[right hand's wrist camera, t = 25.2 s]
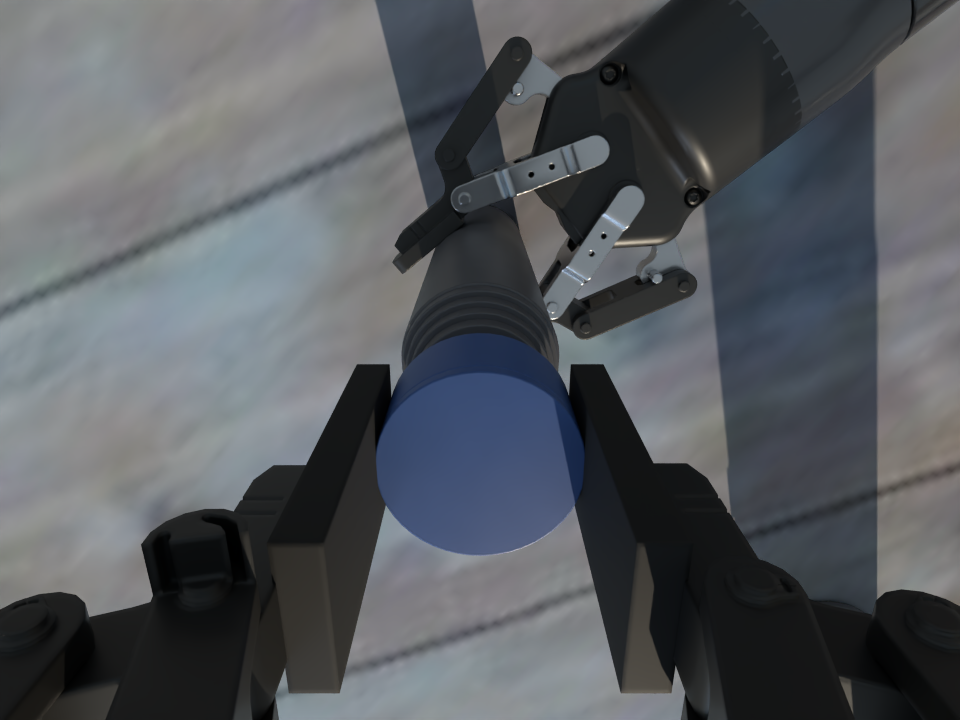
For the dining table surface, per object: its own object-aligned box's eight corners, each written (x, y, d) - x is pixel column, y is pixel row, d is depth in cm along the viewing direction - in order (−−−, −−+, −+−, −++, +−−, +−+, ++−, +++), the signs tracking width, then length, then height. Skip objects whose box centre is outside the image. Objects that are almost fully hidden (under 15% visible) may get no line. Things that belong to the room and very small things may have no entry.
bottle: (427, 271, 35) (346, 501, 14) (454, 191, 34) (411, 313, 12) (504, 298, 36) (539, 560, 14) (534, 221, 34) (624, 388, 13)
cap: (484, 524, 16) (485, 589, 14) (352, 422, 15) (330, 474, 13) (608, 413, 15) (631, 465, 12) (475, 294, 14) (474, 327, 11)
